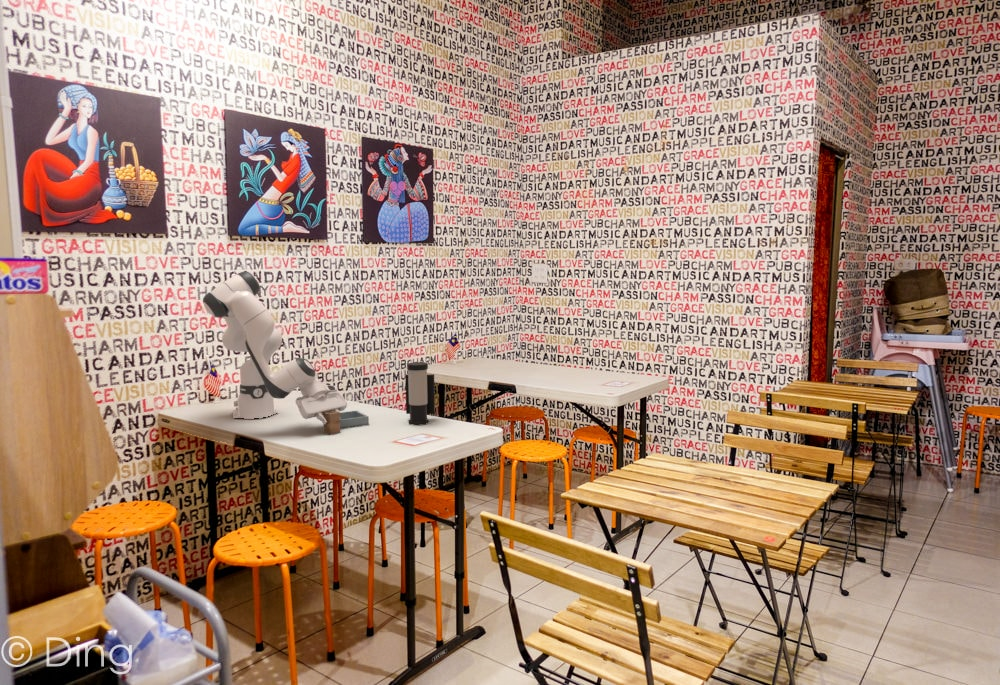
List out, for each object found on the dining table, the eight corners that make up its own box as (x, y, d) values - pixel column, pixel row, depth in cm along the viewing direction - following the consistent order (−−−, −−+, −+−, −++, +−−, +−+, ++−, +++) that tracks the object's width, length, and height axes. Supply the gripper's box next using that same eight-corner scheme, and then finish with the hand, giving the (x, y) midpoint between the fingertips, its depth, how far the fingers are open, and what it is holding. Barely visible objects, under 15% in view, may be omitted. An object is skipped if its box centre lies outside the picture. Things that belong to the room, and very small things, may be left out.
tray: (325, 422, 285) (325, 414, 285) (356, 418, 292) (356, 410, 292) (336, 429, 274) (336, 420, 273) (368, 424, 281) (368, 416, 280)
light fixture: (402, 425, 280) (400, 365, 277) (406, 419, 291) (405, 361, 288) (431, 425, 279) (430, 365, 276) (435, 419, 290) (434, 361, 287)
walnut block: (323, 432, 268) (322, 412, 267) (332, 430, 272) (332, 410, 271) (331, 434, 265) (330, 414, 264) (340, 432, 269) (339, 411, 268)
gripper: (296, 393, 262) (314, 422, 258) (339, 385, 279) (356, 412, 274) (290, 403, 266) (307, 432, 261) (332, 395, 282) (349, 421, 277)
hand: (332, 421), depth 268 cm, fingers closed on walnut block, 4 cm apart
